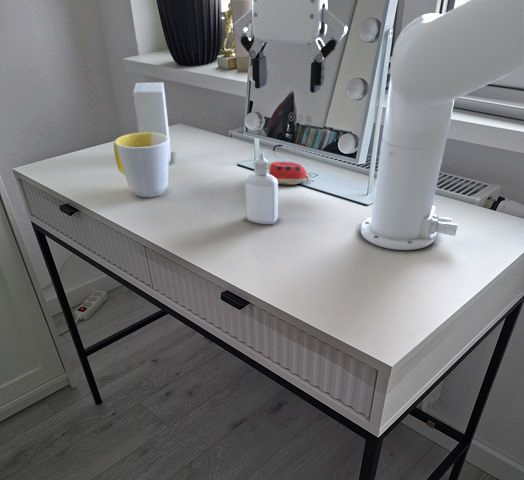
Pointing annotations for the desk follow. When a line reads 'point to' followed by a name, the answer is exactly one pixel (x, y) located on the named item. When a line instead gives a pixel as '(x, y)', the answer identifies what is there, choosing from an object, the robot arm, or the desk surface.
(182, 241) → the desk surface
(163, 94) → the cosmetic box
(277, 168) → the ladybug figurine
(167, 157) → the mug
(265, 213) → the eye dropper bottle
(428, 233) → the robot arm
